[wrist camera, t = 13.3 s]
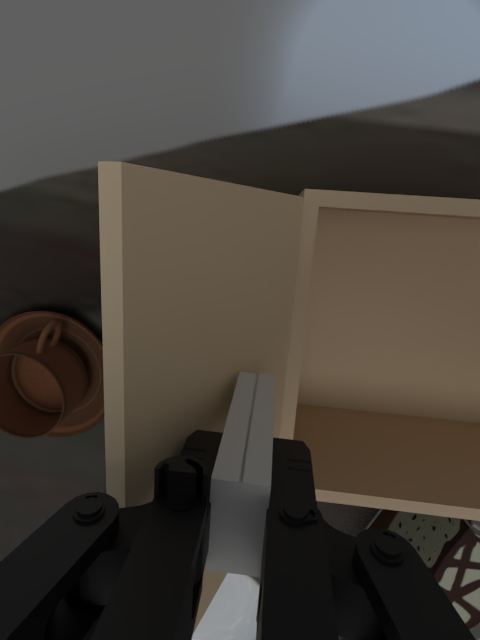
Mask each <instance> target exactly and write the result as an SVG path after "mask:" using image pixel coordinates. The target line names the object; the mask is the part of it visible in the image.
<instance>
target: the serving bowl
mask: <svg viewBox="0 0 480 640" xmlns="http://www.w3.org/2000/svg"><path fill="white" fill-rule="evenodd" d="M259 588H260V577H254V576H247V575H240V574H232V573H227V575H226V577H225V579H224V580H223V582H222V584H221V586H220V587H219V589H218V591H217V593H216V594H215V596H214V598H213V600H212V601H211V603H210V605H209V607H208V609H207V610H206V612H205V614H204V616H203V617H202V619H201V621H200V623H199V624H198V626H197V628H196V630H195V632H194V633H193V635H192V640H256V629H257V622H256V616H257V607H258V597H259Z"/></svg>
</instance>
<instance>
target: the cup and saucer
mask: <svg viewBox="0 0 480 640" xmlns="http://www.w3.org/2000/svg"><path fill="white" fill-rule="evenodd" d="M103 417H104V378H103V344H102V342H101V341H100V340H99V338H98V337H97V336H96V335H95V334H94V333H93V332H92V331H91V330H90V329H89V328H87V327H86V326H85V325H83V324H82V323H80V322H79V321H77V320H75V319H73V318H71V317H69V316H67V315H64V314H60V313H56V312H51V311H31V312H26V313H22V314H19V315H16V316H14V317H12V318H10V319H9V320H7V321H6V322H4V323H3V324H2V325H1V326H0V430H1V431H3V432H5V433H7V434H9V435H11V436H14V437H18V438H25V439H32V438H38V437H42V436H44V435H48V436H54V437H67V436H73V435H77V434H80V433H83V432H85V431H87V430H89V429H91V428H92V427H94V426H95V425H96V424H97V423H98V422H99V421H100V420H101V419H102V418H103Z"/></svg>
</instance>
